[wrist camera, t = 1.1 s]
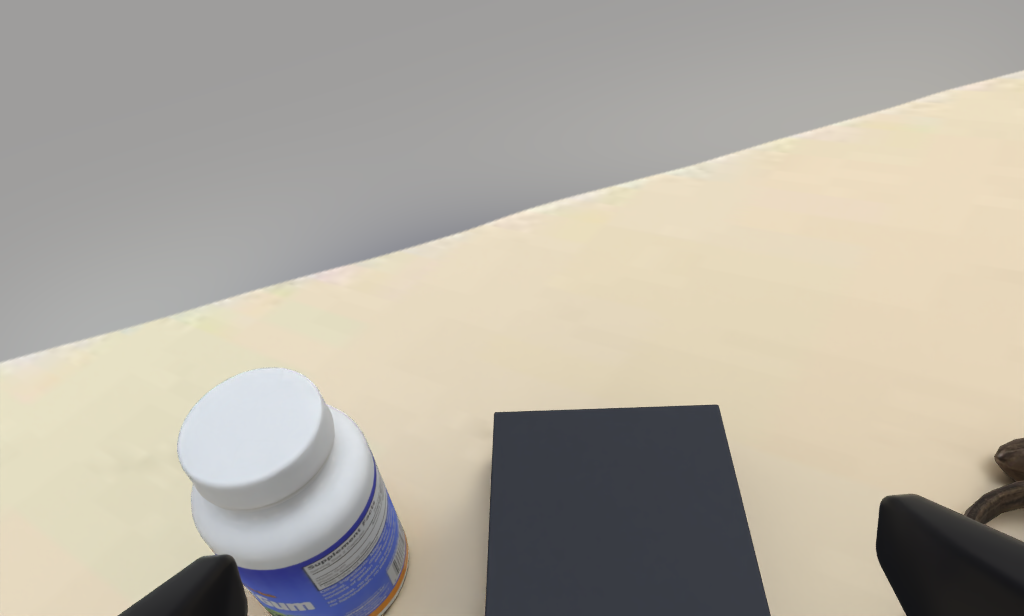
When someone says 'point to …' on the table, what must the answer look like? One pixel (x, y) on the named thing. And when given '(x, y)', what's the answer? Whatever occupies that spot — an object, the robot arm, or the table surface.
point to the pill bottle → (292, 497)
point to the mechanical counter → (1018, 463)
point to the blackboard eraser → (618, 516)
